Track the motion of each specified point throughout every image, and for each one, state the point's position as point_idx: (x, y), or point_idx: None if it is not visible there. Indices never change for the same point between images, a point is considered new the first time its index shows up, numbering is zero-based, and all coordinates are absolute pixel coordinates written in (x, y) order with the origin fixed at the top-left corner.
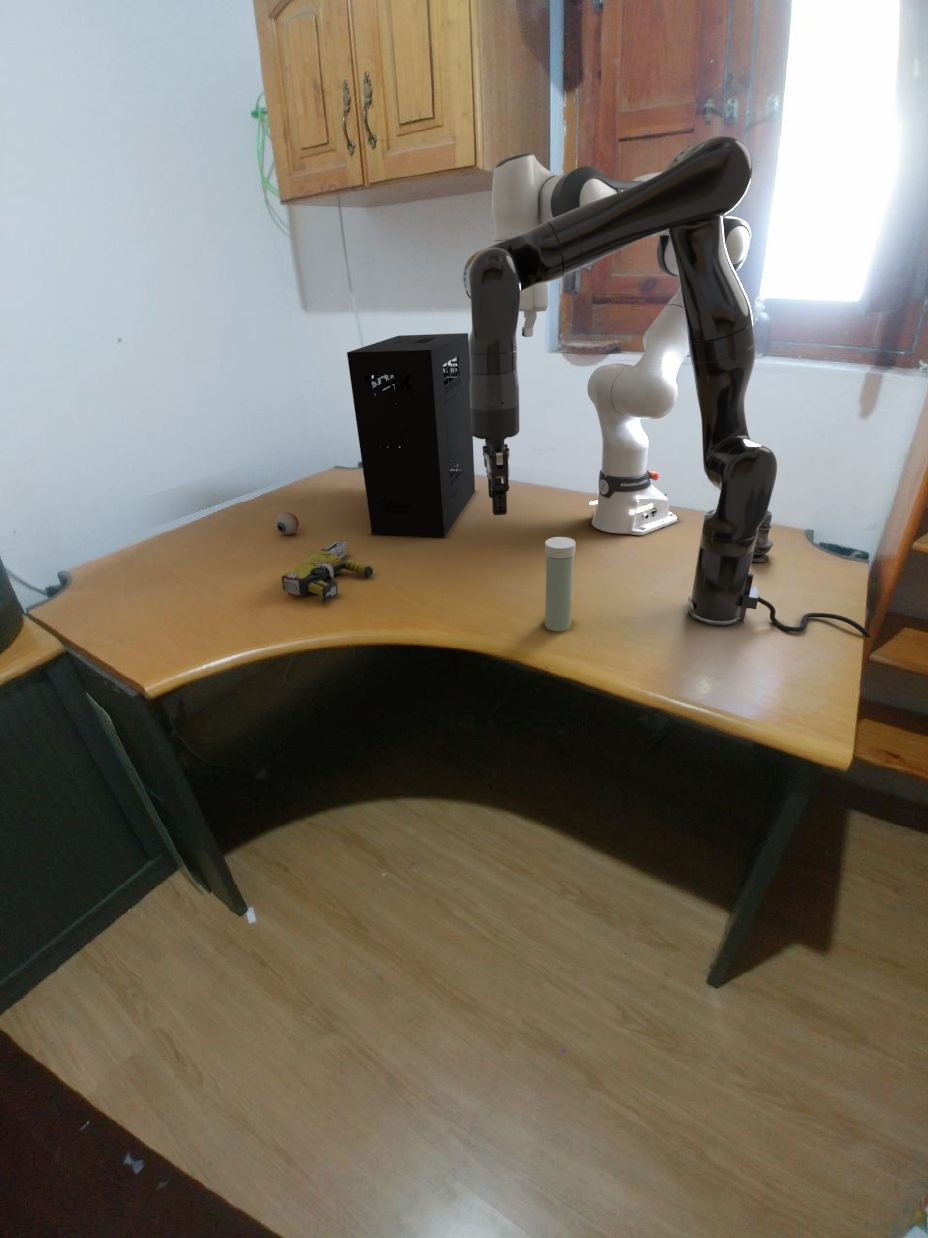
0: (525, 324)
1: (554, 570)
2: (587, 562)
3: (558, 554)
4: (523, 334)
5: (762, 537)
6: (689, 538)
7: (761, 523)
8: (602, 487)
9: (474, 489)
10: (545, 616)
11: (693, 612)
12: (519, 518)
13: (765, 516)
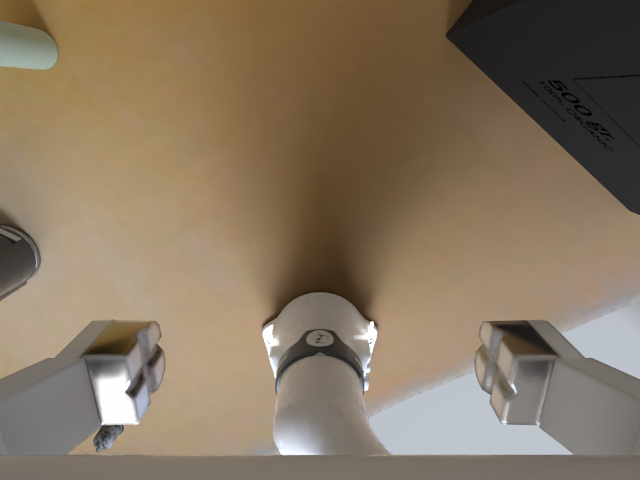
0: (29, 372)
1: None
2: (215, 208)
3: None
4: (118, 321)
5: None
6: (223, 372)
7: (102, 426)
8: (321, 336)
9: (630, 209)
10: (32, 28)
11: (2, 227)
12: (440, 212)
13: (95, 437)
